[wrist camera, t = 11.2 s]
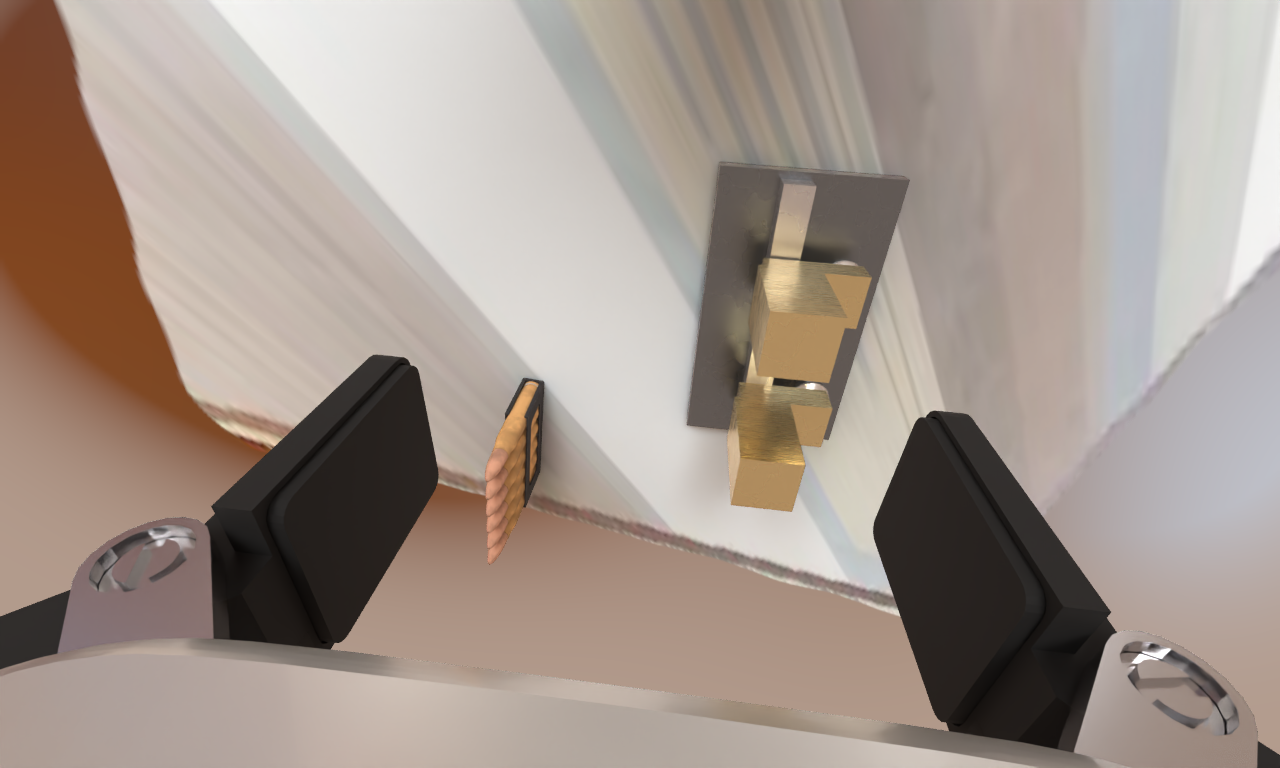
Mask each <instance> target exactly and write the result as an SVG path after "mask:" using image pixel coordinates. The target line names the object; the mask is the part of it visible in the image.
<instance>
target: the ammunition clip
mask: <svg viewBox="0 0 1280 768" xmlns="http://www.w3.org/2000/svg"><path fill="white" fill-rule="evenodd" d="M543 396H544V382H543V381H539V380H533V379H528V378H523V380H522V382H521V384H520V386H519V387H518V389H517V391H516V393H515V395H514V397H513V399H512V401H511V403H510V405H509V407H508V409H507V411H506V413H505V422H504V424H503V426H502V428H501V430H500V432H499V434H498V436H497V438H496V442H495V446H494V448H493V451H492V454H491V456H490V458H489V460H488V463H487V466H486V471H485V480H486V482H488V483H487V486H486V499H487V500H488V501H487V507H486V515H487V517H488V520H487V533H488V539H487V547H488V549H489V550H488V564H489V565H490V564H492V563H493V562H494V561H495V560H496V559H497V557H498V556H499V555H500V553H501V551H502V550H503V548H504V546H505V544H506V541H507V539H508V538H509V535H510V533H511V531H512V530H513V528H514V527H515V525H516V523H517V521H518V518H519V516H520V513H521V511H522V508H523V507H526V505H527V503H528V500H529V498H530V495H531V493H532V490H533V488H534V485H535V483H536V480H537V478H538V475H539V473H540V464H541V441H542V418H543Z"/></svg>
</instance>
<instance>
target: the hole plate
mask: <svg viewBox="0 0 1280 768" xmlns="http://www.w3.org/2000/svg"><path fill="white" fill-rule="evenodd" d="M909 181H910V180H909V179H907V178H906V177H904V176H894V175H881V174H868V173H855V172H842V171H829V170H817V169H804V168H791V167H778V166H765V165H752V164H739V163H726V162H720V163H719V171H718V179H717V187H716V195H715V203H714V210H713V218H712V226H711V234H710V242H709V250H708V258H707V265H706V273H705V281H704V289H703V297H702V305H701V312H700V320H699V328H698V336H697V344H696V352H695V360H694V367H693V375H692V383H691V391H690V399H689V407H688V415H687V425H691V426H701V427H710V428H720V429H729V431H728V437H727V448H728V464H729V481H730V497H731V505H736V506H745V507H754V508H763V509H772V510H781V511H790V512H792V510H793V506H794V503H795V499H796V496H797V493H798V489H799V486H800V482H801V479H802V475H803V472H804V469H805V462H804V458H803V454H802V450H801V445H805V446H815V447H821V444H822V441H823V439H826V440H829V437H830V434H831V430H832V427H833V424H834V421H835V418H836V414H837V411H838V408H839V405H840V402H841V398H842V395H843V392H844V389H845V386H846V382H847V379H848V376H849V373H850V370H851V366H852V363H853V360H854V357H855V354H856V350H857V347H858V344H859V341H860V338H861V334H862V331H863V328H864V325H865V322H866V318H867V315H868V312H869V309H870V306H871V302H872V299H873V296H874V293H875V290H876V286H877V283H878V280H879V277H880V274H881V270H882V267H883V264H884V261H885V258H886V254H887V251H888V248H889V245H890V242H891V238H892V235H893V232H894V229H895V226H896V222H897V219H898V216H899V213H900V210H901V206H902V203H903V200H904V197H905V194H906V190H907V187H908V184H909ZM763 258H771V259H783V260H794V261H806V262H817V263H829V264H840V265H852V266H863V267H864V268H865V269H866V270H867V272H868V273H869V274H870V276H871V277H872V279H871V282H870V285H869V289H868V292H867V295H866V298H865V302H864V305H863V308H862V312H861V315H860V318H859V321H858V325H857V328H856V329H850V328H845V330H844V333H843V336H842V340H841V343H840V347H839V350H838V354H837V357H836V360H835V364H834V367H833V371H832V374H831V378H830V381H829V383H824V382H814V381H803V380H793V379H783V378H773V377H763V376H757V373H756V367H755V361H754V355H753V348H752V342H751V336H750V330H749V324H748V320H749V315H750V309H751V304H752V298H753V293H754V287H755V282H756V276H757V271H758V265H762V260H763Z"/></svg>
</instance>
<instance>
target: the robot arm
mask: <svg viewBox="0 0 1280 768" xmlns="http://www.w3.org/2000/svg"><path fill="white" fill-rule="evenodd" d="M437 483H438V467H437V462H436V457H435V452H434V447H433V442H432V437H431V432H430V427H429V422H428V416H427V411H426V406H425V401H424V396H423V391H422V386H421V381H420V376H419V372H418V369H417V368H416V367H415V366H411V365H410V363H409V361H408V360H407V359H406V358H404V357H394V356H384V355H373V356H371V357H369V358H368V359H367V360H366V361H365V362H364V363H363V364H362V365H361V366H360V367H359V368H358V369H357V370H356V371H355V372H353V373H352V374H351V375H350V376H349V377H348V378H347V379H346V380H345V381H344V382H343V383H342V384H341V385H340V386H339V387H338V388H336V389H335V390H334V391H333V392H332V393H331V394H330V395H329V396H328V397H327V398H326V399H325V400H324V401H323V402H322V403H321V404H319V405H318V406H317V407H316V408H315V409H314V410H313V411H312V412H311V413H310V414H309V415H308V416H307V417H306V418H305V419H304V420H302V421H301V422H300V423H299V424H298V425H297V426H296V427H295V428H294V429H293V430H292V431H291V432H290V433H289V434H288V435H287V436H285V437H284V438H283V439H282V440H281V441H280V442H279V443H278V444H277V445H276V446H275V447H274V448H273V449H272V450H271V451H270V452H268V453H267V454H266V455H265V456H264V457H263V458H262V459H261V460H260V461H259V462H258V463H257V464H256V465H255V466H254V467H252V469H250V470H249V471H248V472H247V473H246V474H245V475H244V476H243V477H242V478H241V479H240V480H239V481H238V482H237V483H235V484H234V486H232V487H231V488H230V489H229V490H228V491H227V492H226V493H225V494H224V495H223V496H222V497H221V498H220V499H219V500H218V501H216V502H215V504H213V505H212V506H211V507H212V509H213V510H214V512H215V514H214V516H212V517H211V518H210V519H209V520H208V521H207V522H206V523H205V524H203V523H202V522H200V521H199V520H197V519H192V518H186V517H177V518H176V517H175V518H165V519H160V520H156V521H152V522H148V523H145V524H143V525H140V526H137V527H135V528H132V529H129V530H127V531H125V532H123V533H121V534H120V535H118V536H116V537H114V538H113V539H111V540H109V541H107V542H106V543H105V544H103V545H102V546H101V547H99V548H98V549H97V550H96V551H94V552H93V553H92V554H90V556H89V557H88V558H87V559H86V560H85V561H84V562H83V563H82V564H81V566H80V567H79V568H78V570H77V572H76V575H75V577H74V579H73V581H72V586H71V590H69V591H66V592H64V593H61V594H58V595H55V596H53V597H50V598H48V599H45V600H43V601H40V602H37V603H35V604H32V605H29V606H27V607H24V608H21V609H19V610H16V611H14V612H11V613H8V614H6V615H3V616H0V768H1280V755H1279V754H1277V753H1276V752H1274V751H1272V750H1271V749H1270V748H1268V747H1266V746H1265V745H1263V744H1262V743H1260V742H1258V731H1257V726H1256V722H1255V718H1254V715H1253V713H1252V712H1251V710H1250V708H1249V707H1248V705H1247V703H1246V702H1245V700H1244V698H1243V697H1242V696H1241V695H1240V694H1239V692H1238V691H1237V690H1236V689H1235V688H1234V687H1233V686H1232V685H1231V683H1230V682H1229V681H1228V680H1227V679H1226V678H1225V677H1224V676H1222V675H1221V674H1220V673H1219V672H1217V671H1216V670H1215V669H1214V668H1213V667H1212V666H1210V665H1209V664H1208V663H1207V662H1205V661H1204V660H1203V659H1201V658H1199V657H1198V656H1196V655H1195V654H1193V653H1192V652H1190V651H1188V650H1187V649H1185V648H1184V647H1182V646H1180V645H1178V644H1175V643H1173V642H1171V641H1169V640H1167V639H1165V638H1162V637H1160V636H1156V635H1152V634H1149V633H1145V632H1142V631H1125V630H1124V631H1121V632H1119V633H1117V632H1116V631H1115V629H1114V628H1113V626H1112V625H1111V623H1110V622H1109V621H1108V619H1107V617H1108V615H1109V614H1110V613H1111V611H1110V610H1109V609H1108V607H1107V606H1106V604H1105V603H1104V602H1103V601H1102V599H1101V597H1100V596H1099V595H1098V593H1097V592H1096V591H1095V589H1094V588H1093V586H1092V585H1091V584H1090V582H1089V581H1088V579H1087V578H1086V577H1085V575H1084V574H1083V573H1082V571H1081V570H1080V568H1079V567H1078V566H1077V564H1076V563H1075V561H1074V560H1073V558H1072V557H1071V556H1070V554H1069V553H1068V551H1067V550H1066V549H1065V547H1064V546H1063V545H1062V543H1061V542H1060V540H1059V539H1058V538H1057V536H1056V535H1055V534H1054V532H1053V531H1052V529H1051V528H1050V526H1049V525H1048V524H1047V522H1046V521H1045V519H1044V518H1043V517H1042V515H1041V514H1040V512H1039V511H1038V510H1037V508H1036V507H1035V505H1034V504H1033V503H1032V501H1031V500H1030V499H1029V497H1028V496H1027V494H1026V493H1025V492H1024V490H1023V489H1022V487H1021V486H1020V485H1019V483H1018V482H1017V480H1016V479H1015V478H1014V476H1013V475H1012V473H1011V472H1010V471H1009V469H1008V468H1007V466H1006V465H1005V464H1004V462H1003V461H1002V459H1001V458H1000V457H999V455H998V454H997V453H996V451H995V450H994V448H993V447H992V446H991V444H990V443H989V441H988V440H987V439H986V437H985V436H984V434H983V433H982V432H981V430H980V429H979V427H978V426H977V425H976V423H975V422H974V420H973V419H972V418H971V417H970V416H969V415H967V414H963V413H953V412H943V411H931V412H930V413H929V414H928V415H927V416H926V418H923V417H921V418H919V419H918V420H917V421H916V423H915V424H914V427H913V429H912V432H911V434H910V436H909V439H908V441H907V444H906V446H905V449H904V451H903V453H902V456H901V458H900V461H899V463H898V465H897V468H896V470H895V473H894V475H893V477H892V480H891V482H890V485H889V487H888V490H887V492H886V494H885V497H884V499H883V502H882V504H881V506H880V509H879V511H878V514H877V516H876V518H875V522H874V527H873V534H874V540H875V543H876V546H877V549H878V552H879V555H880V558H881V561H882V564H883V567H884V569H885V572H886V575H887V578H888V581H889V584H890V587H891V590H892V593H893V596H894V598H895V601H896V604H897V607H898V610H899V613H900V616H901V618H902V621H903V624H904V627H905V630H906V632H907V636H908V639H909V642H910V645H911V648H912V650H913V653H914V656H915V659H916V662H917V665H918V668H919V671H920V673H921V677H922V680H923V682H924V685H925V688H926V691H927V694H928V697H929V700H930V703H931V706H932V709H933V711H934V713H935V715H936V716H937V718H938V719H939V720H940V721H941V722H946V723H947V726H948V729H949V731H944V730H937V729H930V728H924V727H917V726H911V725H904V724H897V723H890V722H883V721H875V720H867V719H860V718H853V717H846V716H838V715H831V714H824V713H817V712H809V711H802V710H794V709H787V708H780V707H772V706H765V705H758V704H751V703H743V702H736V701H728V700H721V699H714V698H705V697H698V696H690V695H682V694H676V693H668V692H661V691H653V690H645V689H638V688H630V687H623V686H615V685H607V684H600V683H592V682H584V681H577V680H569V679H561V678H554V677H546V676H538V675H531V674H522V673H515V672H507V671H499V670H491V669H483V668H475V667H467V666H459V665H451V664H443V663H436V662H428V661H419V660H412V659H404V658H396V657H388V656H379V655H372V654H364V653H355V652H347V651H338V650H330V649H331V648H332V646H333V645H334V643H339V642H342V641H343V640H344V639H345V638H346V637H347V635H348V634H349V632H350V631H351V629H352V627H353V626H354V624H355V622H356V621H357V619H358V617H359V616H360V614H361V612H362V611H363V609H364V607H365V605H366V604H367V602H368V601H369V599H370V597H371V596H372V594H373V592H374V591H375V589H376V587H377V586H378V584H379V582H380V581H381V579H382V577H383V576H384V574H385V572H386V571H387V569H388V567H389V566H390V564H391V562H392V561H393V559H394V557H395V556H396V554H397V552H398V551H399V549H400V547H401V546H402V544H403V542H404V540H405V539H406V537H407V536H408V534H409V532H410V531H411V529H412V527H413V526H414V524H415V522H416V521H417V519H418V517H419V516H420V514H421V512H422V511H423V509H424V507H425V506H426V504H427V502H428V501H429V499H430V497H431V496H432V494H433V492H434V490H435V489H436V486H437Z"/></svg>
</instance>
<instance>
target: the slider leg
mask: <svg viewBox="0 0 1280 768" xmlns="http://www.w3.org/2000/svg"><path fill="white" fill-rule="evenodd" d="M871 279H872V277H871V276H870V274H869V273H868V272H867V270H866V269H865V268H864V267H863V266H852V265H840V264H829V263H817V262H806V261H794V260H783V259H771V258H763V260H762V265H758V271H757V276H756V282H755V287H754V293H753V298H752V304H751V309H750V315H749V320H748V324H749V330H750V336H751V342H752V348H753V355H754V361H755V367H756V373H757V376H763V377H773V378H783V379H793V380H803V381H814V382H824V383H829V381H830V378H831V374H832V371H833V367H834V364H835V360H836V357H837V354H838V350H839V347H840V343H841V340H842V336H843V333H844V330H845V328H850V329H856V328H857V325H858V321H859V318H860V315H861V312H862V308H863V305H864V302H865V298H866V295H867V292H868V289H869V285H870V282H871Z"/></svg>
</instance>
